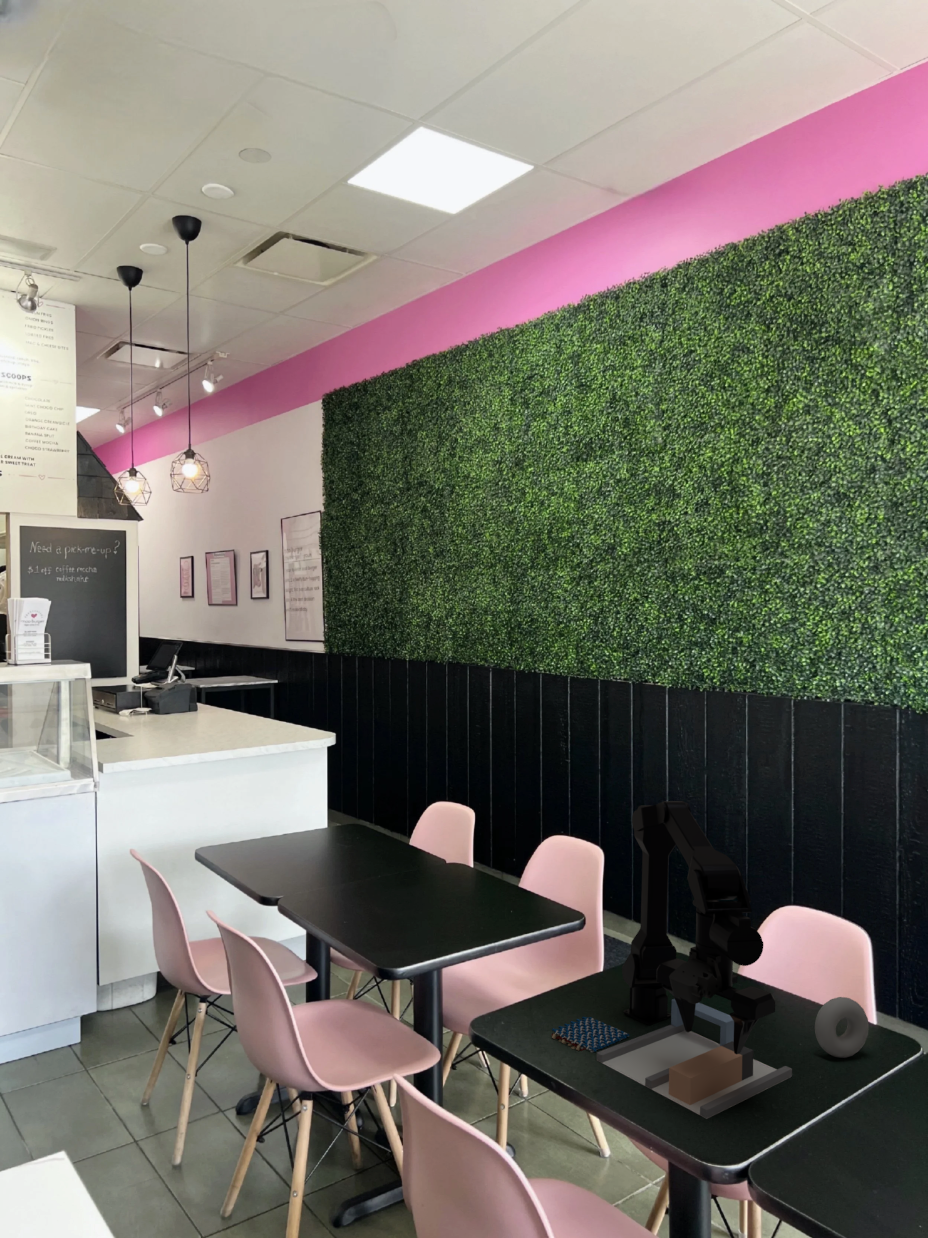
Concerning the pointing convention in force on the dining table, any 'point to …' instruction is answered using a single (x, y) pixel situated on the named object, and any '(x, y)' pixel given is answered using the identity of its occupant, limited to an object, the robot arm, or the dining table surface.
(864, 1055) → the dining table surface
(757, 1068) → the grey tray
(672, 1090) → the two-tone brown block
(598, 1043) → the woven mat
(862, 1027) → the donut
